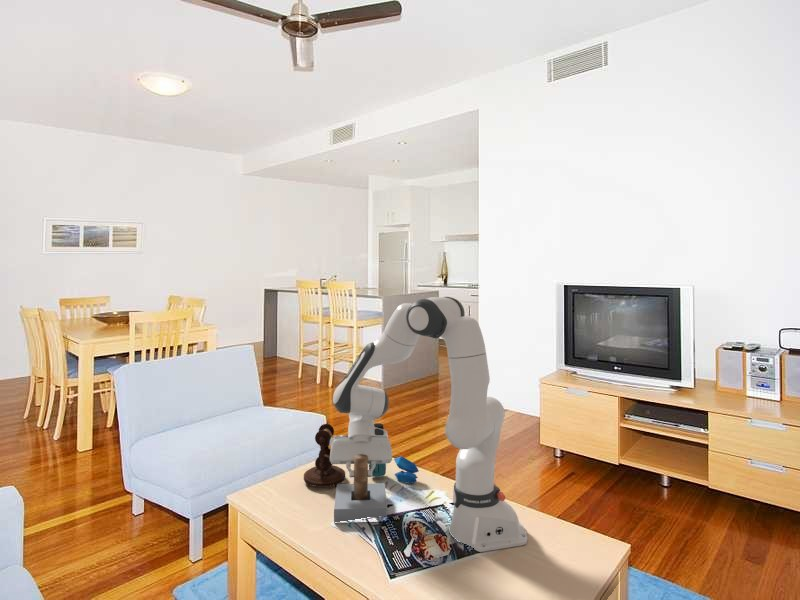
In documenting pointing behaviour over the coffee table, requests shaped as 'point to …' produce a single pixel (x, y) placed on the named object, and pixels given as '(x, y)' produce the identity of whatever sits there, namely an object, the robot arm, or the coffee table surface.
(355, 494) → the walnut dowel
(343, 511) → the grey square socket block
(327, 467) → the dark brown ring stand
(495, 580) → the coffee table surface
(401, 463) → the open blue clamshell
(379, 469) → the beverage bottle
